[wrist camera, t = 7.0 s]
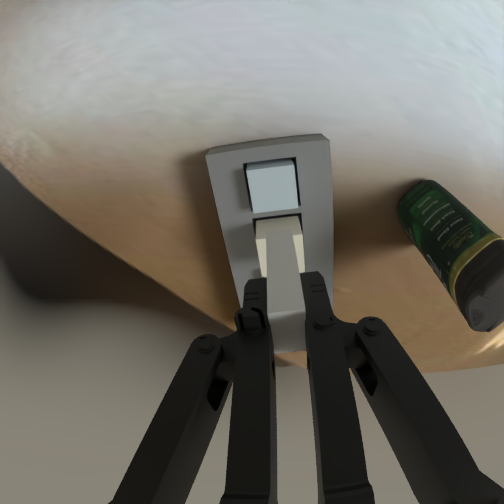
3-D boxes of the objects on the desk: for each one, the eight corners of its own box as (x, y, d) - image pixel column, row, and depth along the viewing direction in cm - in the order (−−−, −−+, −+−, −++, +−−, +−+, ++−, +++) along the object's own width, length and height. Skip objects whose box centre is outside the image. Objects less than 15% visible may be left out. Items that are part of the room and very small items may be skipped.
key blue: (248, 160, 28) (246, 170, 25) (289, 155, 28) (294, 164, 25) (254, 198, 31) (253, 213, 27) (294, 193, 30) (298, 208, 27)
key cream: (256, 220, 30) (255, 239, 26) (297, 215, 29) (302, 234, 26) (261, 255, 32) (261, 276, 29) (300, 250, 32) (305, 272, 28)
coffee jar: (386, 204, 32) (465, 305, 16) (430, 168, 29) (530, 246, 13) (414, 252, 36) (477, 350, 20) (453, 221, 32) (529, 305, 17)
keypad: (211, 147, 29) (205, 155, 26) (321, 133, 28) (329, 139, 24) (249, 318, 43) (248, 337, 40) (326, 309, 42) (331, 329, 38)
